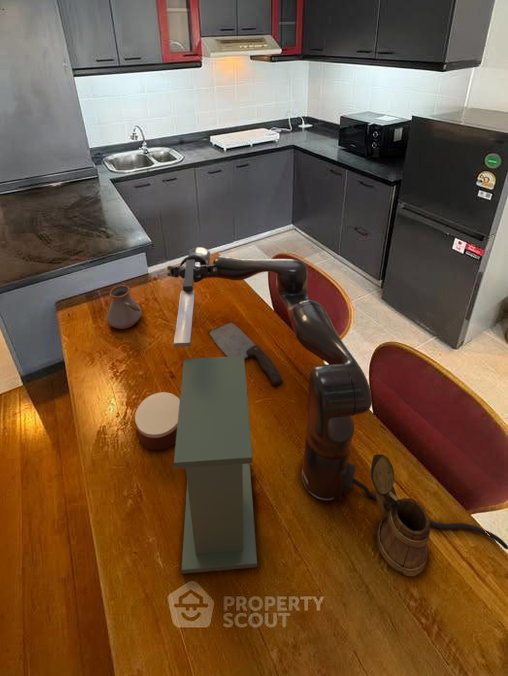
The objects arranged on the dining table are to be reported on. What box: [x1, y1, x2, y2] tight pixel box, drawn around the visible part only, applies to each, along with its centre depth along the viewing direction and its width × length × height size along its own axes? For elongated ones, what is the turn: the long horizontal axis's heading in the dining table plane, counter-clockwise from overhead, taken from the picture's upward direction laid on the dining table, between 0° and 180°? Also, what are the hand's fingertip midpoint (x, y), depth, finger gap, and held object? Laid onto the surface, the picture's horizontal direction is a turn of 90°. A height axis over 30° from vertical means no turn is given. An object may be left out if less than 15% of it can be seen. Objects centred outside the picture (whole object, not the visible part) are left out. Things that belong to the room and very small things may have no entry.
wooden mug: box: [370, 453, 431, 577], centre depth 72 cm, size 9×14×18 cm, turn 41°
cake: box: [134, 391, 180, 451], centre depth 94 cm, size 11×11×6 cm
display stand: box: [173, 356, 258, 575], centre depth 73 cm, size 21×14×32 cm, turn 4°
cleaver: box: [208, 321, 283, 387], centre depth 117 cm, size 29×10×2 cm, turn 37°
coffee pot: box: [106, 284, 144, 330], centre depth 124 cm, size 21×12×15 cm, turn 39°
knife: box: [173, 260, 196, 348], centre depth 85 cm, size 27×3×2 cm, turn 4°
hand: (188, 273), depth 90 cm, fingers closed on knife, 2 cm apart
